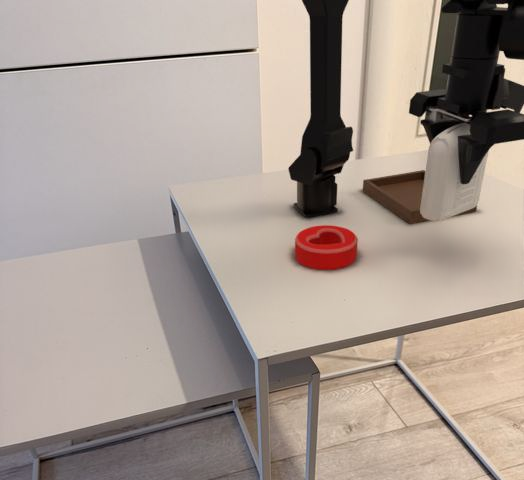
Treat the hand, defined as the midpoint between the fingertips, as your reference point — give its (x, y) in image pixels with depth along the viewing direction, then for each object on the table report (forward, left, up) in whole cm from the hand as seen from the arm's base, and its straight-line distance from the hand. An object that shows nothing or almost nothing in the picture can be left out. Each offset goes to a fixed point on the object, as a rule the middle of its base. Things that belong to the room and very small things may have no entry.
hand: (453, 178), depth 77 cm
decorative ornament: (-17, +6, -12) cm, 22 cm away
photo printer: (0, 0, -5) cm, 5 cm away
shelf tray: (+8, +20, -12) cm, 25 cm away
